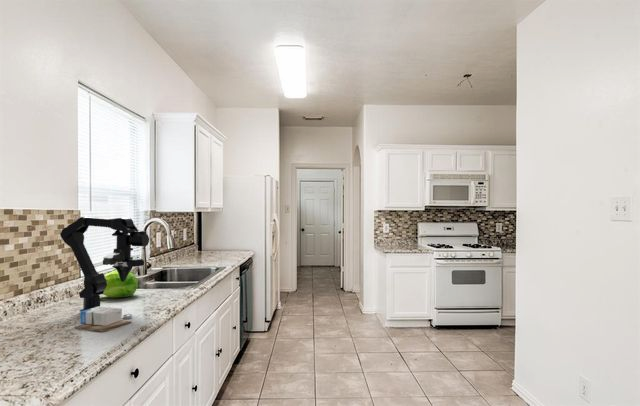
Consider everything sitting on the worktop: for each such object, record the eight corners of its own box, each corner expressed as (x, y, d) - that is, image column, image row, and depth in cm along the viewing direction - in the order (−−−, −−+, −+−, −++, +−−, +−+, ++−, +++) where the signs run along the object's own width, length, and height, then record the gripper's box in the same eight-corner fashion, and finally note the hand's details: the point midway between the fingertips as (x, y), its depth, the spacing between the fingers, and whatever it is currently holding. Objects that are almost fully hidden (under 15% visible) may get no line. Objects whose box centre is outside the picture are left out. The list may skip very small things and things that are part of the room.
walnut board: (74, 327, 141) (74, 326, 141) (105, 318, 153) (105, 317, 153) (101, 332, 136) (101, 330, 136) (131, 322, 148) (131, 321, 148)
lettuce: (86, 307, 181) (97, 303, 195) (135, 294, 186) (143, 292, 201) (81, 277, 182) (92, 276, 197) (130, 265, 188) (138, 265, 202)
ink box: (79, 323, 143) (104, 326, 140) (80, 310, 143) (104, 313, 140) (98, 318, 152) (122, 320, 148) (99, 305, 152) (122, 308, 149)
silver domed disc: (121, 319, 154) (121, 315, 154) (128, 317, 156) (128, 313, 157) (127, 319, 152) (127, 316, 152) (133, 317, 155) (133, 314, 155)
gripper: (91, 246, 162) (91, 283, 161) (123, 248, 155) (123, 286, 154) (114, 244, 172) (113, 278, 172) (145, 246, 165) (144, 281, 165)
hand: (123, 281), depth 165 cm, fingers closed
